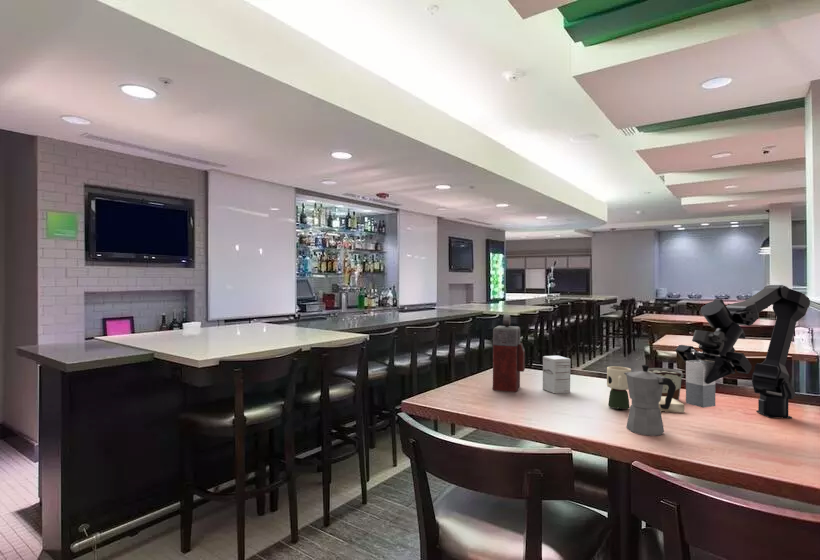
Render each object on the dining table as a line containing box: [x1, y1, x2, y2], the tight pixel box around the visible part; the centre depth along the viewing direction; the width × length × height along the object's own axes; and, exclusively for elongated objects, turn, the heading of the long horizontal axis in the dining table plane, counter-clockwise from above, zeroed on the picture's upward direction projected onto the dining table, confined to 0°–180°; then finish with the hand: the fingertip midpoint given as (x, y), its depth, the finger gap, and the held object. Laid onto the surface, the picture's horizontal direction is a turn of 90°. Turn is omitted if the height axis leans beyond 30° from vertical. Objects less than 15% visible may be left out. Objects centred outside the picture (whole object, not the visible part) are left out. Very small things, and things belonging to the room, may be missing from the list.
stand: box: [659, 396, 685, 413], centre depth 149 cm, size 10×10×2 cm
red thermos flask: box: [492, 314, 526, 393], centre depth 173 cm, size 9×11×28 cm
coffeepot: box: [624, 364, 676, 437], centre depth 124 cm, size 15×9×18 cm, turn 24°
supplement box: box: [542, 355, 572, 394], centre depth 171 cm, size 7×7×13 cm
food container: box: [648, 367, 685, 401], centre depth 162 cm, size 12×6×10 cm, turn 84°
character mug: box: [606, 365, 632, 411], centre depth 147 cm, size 11×7×13 cm, turn 159°
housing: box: [685, 359, 716, 408], centre depth 128 cm, size 5×5×12 cm
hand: (697, 381), depth 128 cm, fingers closed on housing, 5 cm apart
